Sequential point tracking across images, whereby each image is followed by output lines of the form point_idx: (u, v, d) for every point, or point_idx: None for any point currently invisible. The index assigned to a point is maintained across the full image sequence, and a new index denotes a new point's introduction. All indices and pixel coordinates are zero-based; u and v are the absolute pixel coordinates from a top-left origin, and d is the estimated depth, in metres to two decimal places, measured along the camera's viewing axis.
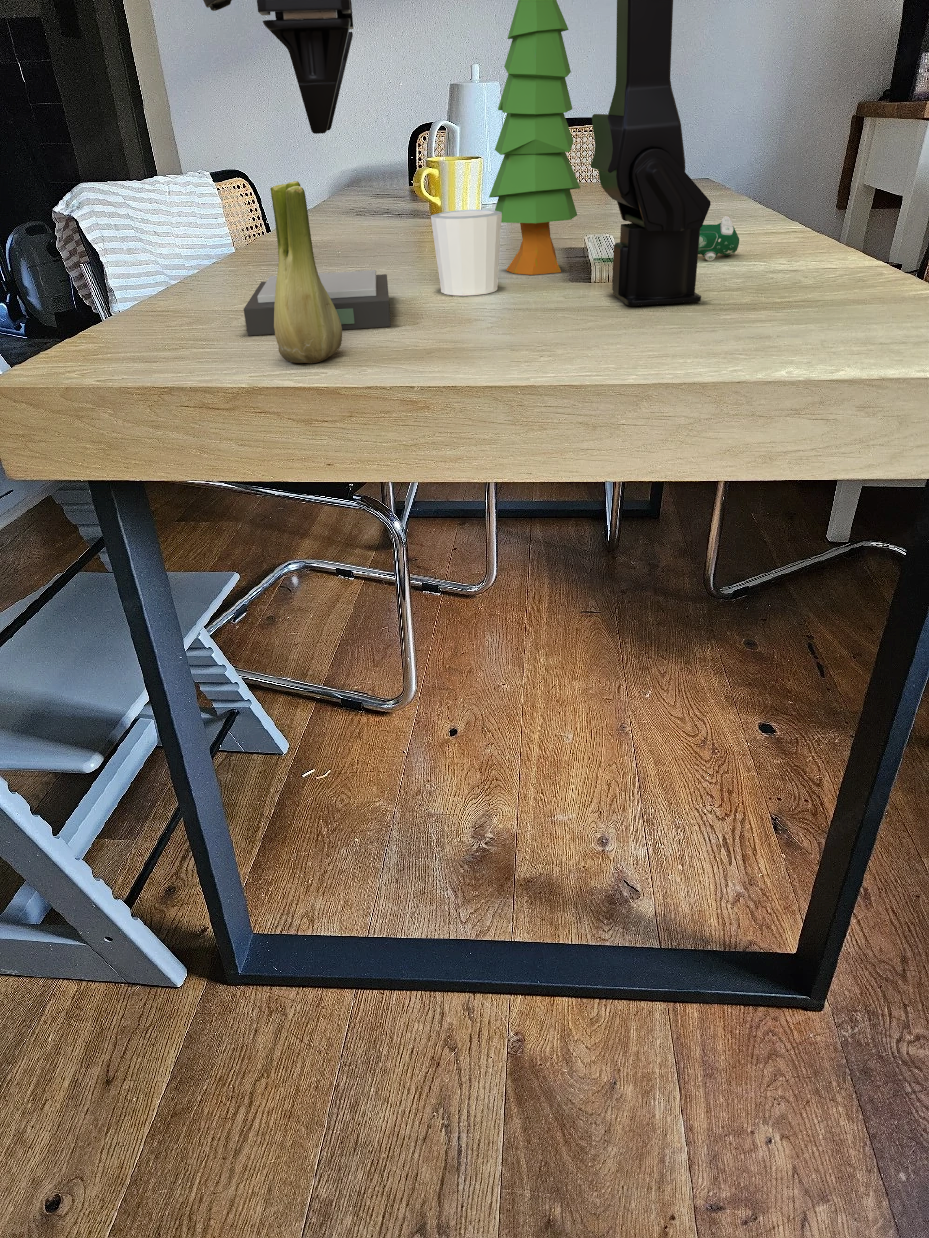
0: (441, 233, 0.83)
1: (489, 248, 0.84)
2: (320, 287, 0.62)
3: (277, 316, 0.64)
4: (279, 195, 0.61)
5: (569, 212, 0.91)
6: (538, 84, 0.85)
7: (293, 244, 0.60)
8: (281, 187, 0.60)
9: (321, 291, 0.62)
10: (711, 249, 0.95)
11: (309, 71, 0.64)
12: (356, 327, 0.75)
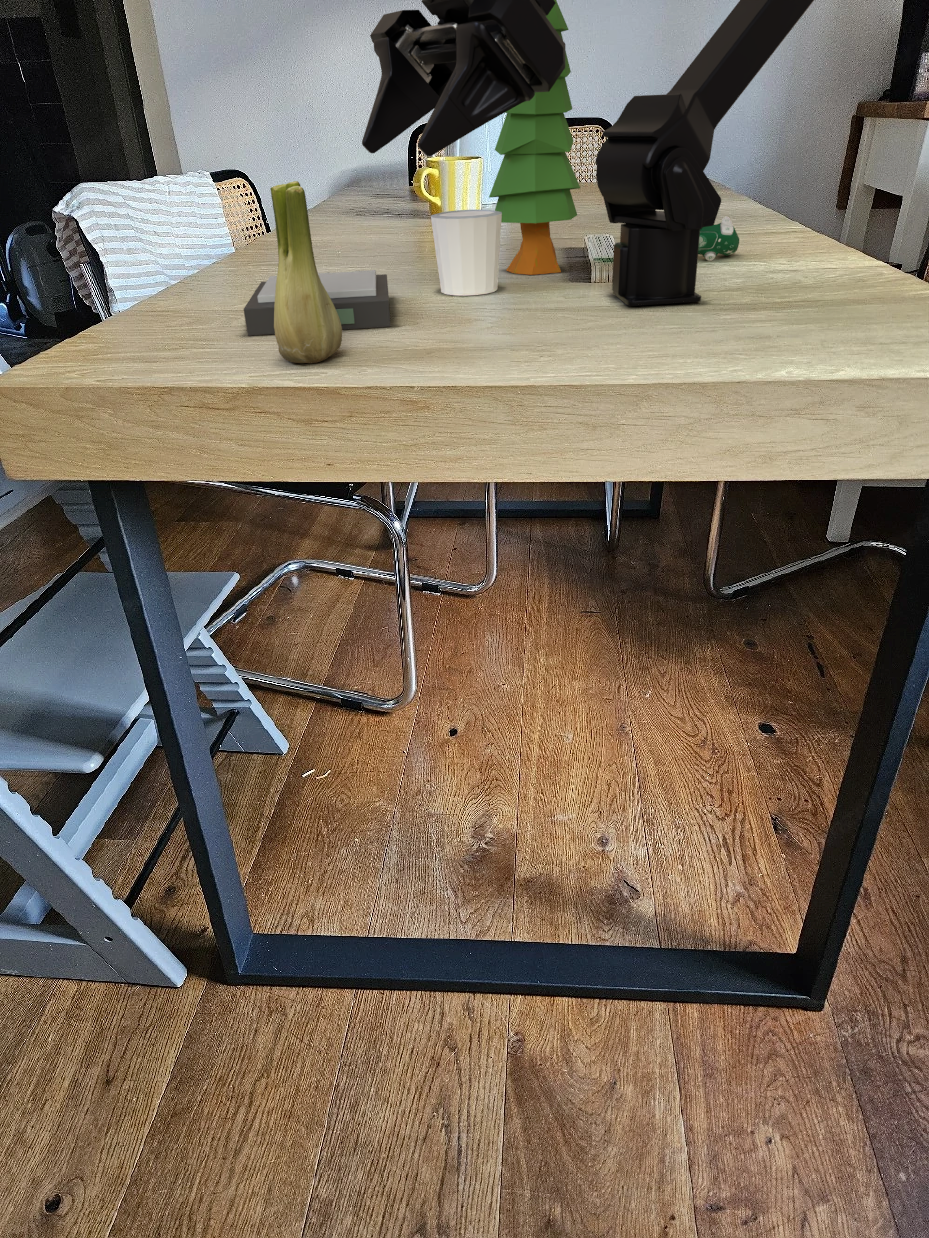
0: (441, 233, 0.83)
1: (489, 248, 0.84)
2: (320, 287, 0.62)
3: (277, 316, 0.64)
4: (279, 195, 0.61)
5: (569, 212, 0.91)
6: None
7: (293, 244, 0.60)
8: (281, 187, 0.60)
9: (321, 291, 0.62)
10: (711, 249, 0.95)
11: (463, 98, 0.58)
12: (356, 327, 0.75)
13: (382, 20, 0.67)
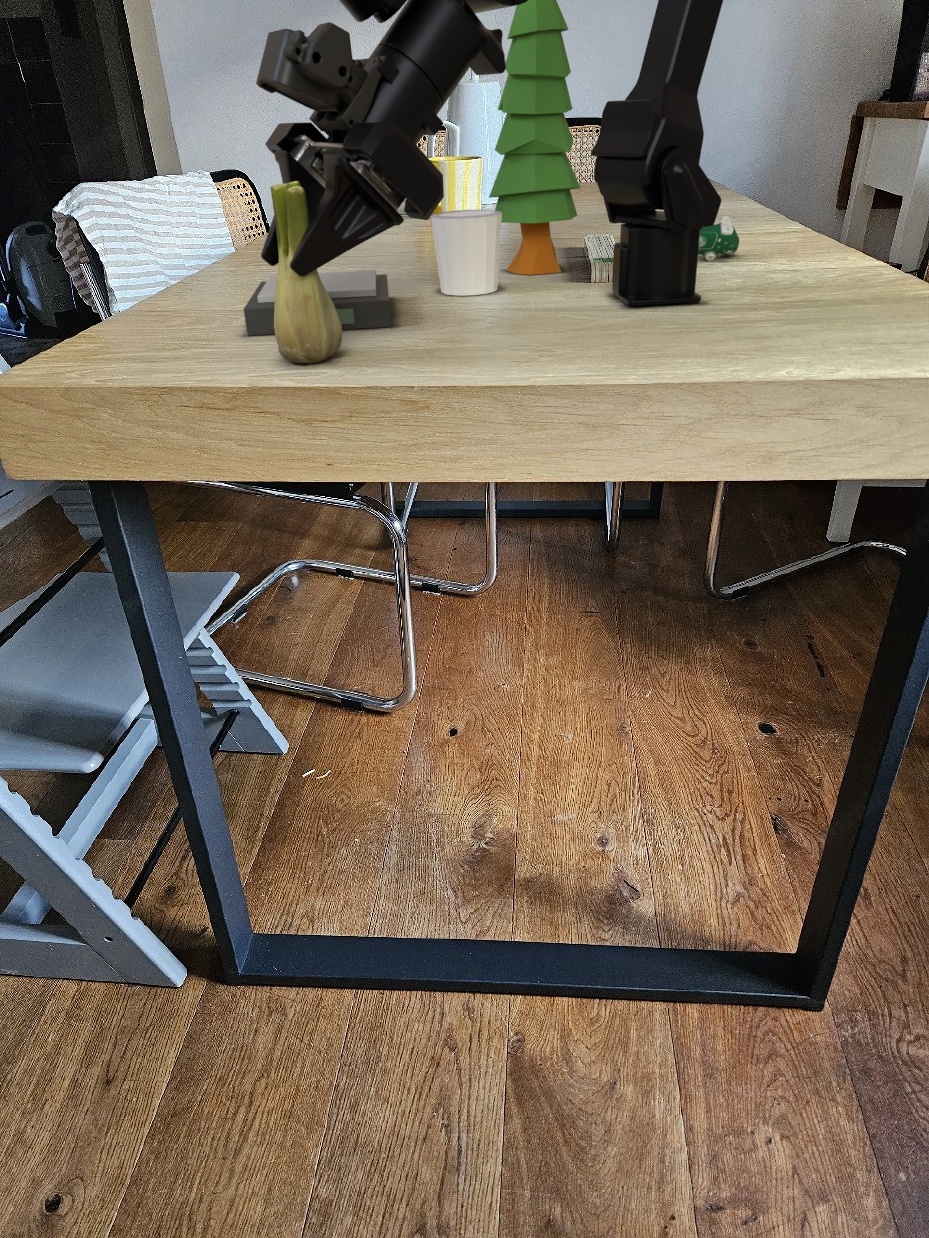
0: (441, 233, 0.83)
1: (489, 248, 0.84)
2: (320, 287, 0.62)
3: (277, 316, 0.63)
4: (279, 195, 0.60)
5: (569, 212, 0.91)
6: (538, 84, 0.85)
7: (293, 244, 0.60)
8: (281, 187, 0.60)
9: (321, 291, 0.62)
10: (711, 249, 0.95)
11: (333, 222, 0.59)
12: (356, 327, 0.75)
13: (277, 129, 0.66)
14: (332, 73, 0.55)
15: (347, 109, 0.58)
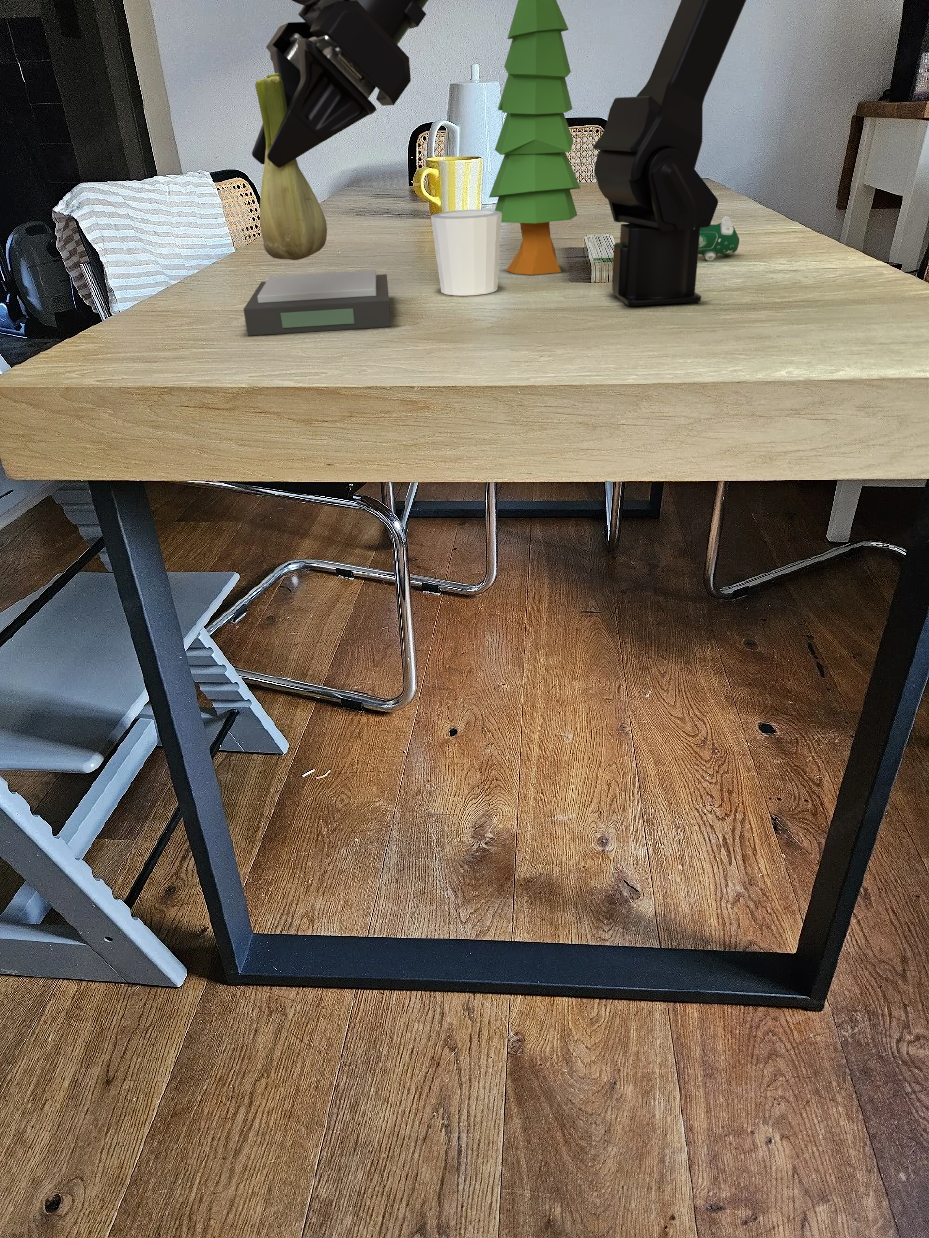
0: (441, 233, 0.83)
1: (489, 248, 0.84)
2: (300, 181, 0.63)
3: (261, 211, 0.65)
4: (262, 88, 0.62)
5: (569, 212, 0.91)
6: (538, 84, 0.85)
7: (272, 136, 0.62)
8: (264, 79, 0.62)
9: (301, 185, 0.63)
10: (711, 249, 0.95)
11: (307, 111, 0.60)
12: (356, 327, 0.75)
13: (277, 31, 0.68)
14: None
15: None
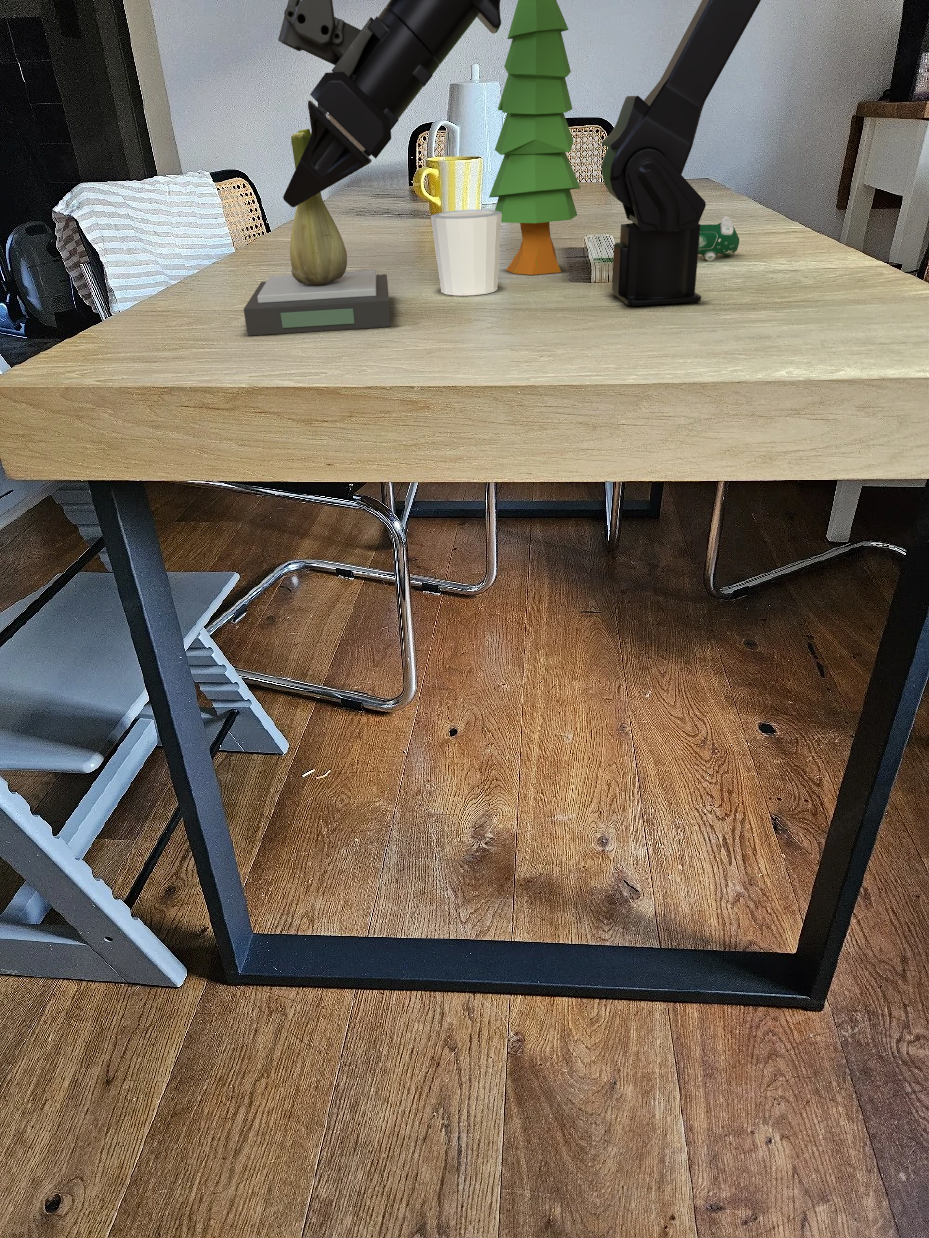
0: (441, 233, 0.83)
1: (489, 248, 0.84)
2: (318, 220, 0.74)
3: (290, 243, 0.77)
4: None
5: (569, 212, 0.91)
6: (538, 84, 0.85)
7: None
8: None
9: (319, 223, 0.74)
10: (711, 249, 0.95)
11: (315, 161, 0.69)
12: (356, 327, 0.75)
13: None
14: (315, 32, 0.66)
15: (337, 63, 0.68)
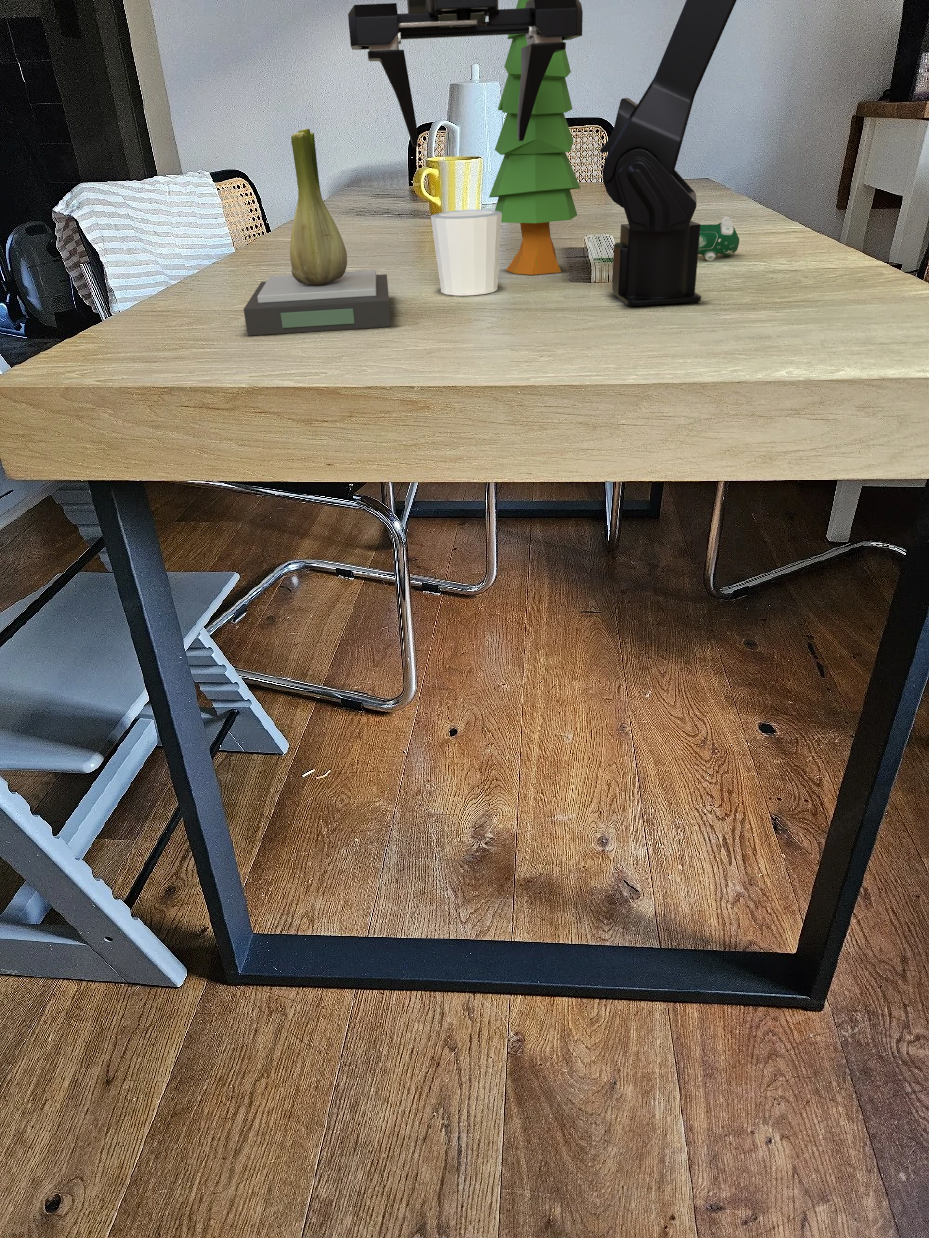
0: (441, 233, 0.83)
1: (489, 248, 0.84)
2: (318, 220, 0.74)
3: (290, 243, 0.77)
4: None
5: (569, 212, 0.91)
6: None
7: (297, 181, 0.73)
8: None
9: (319, 223, 0.74)
10: (711, 249, 0.95)
11: None
12: (356, 327, 0.75)
13: None
14: None
15: (425, 6, 0.74)
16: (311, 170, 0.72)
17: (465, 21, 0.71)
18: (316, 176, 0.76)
